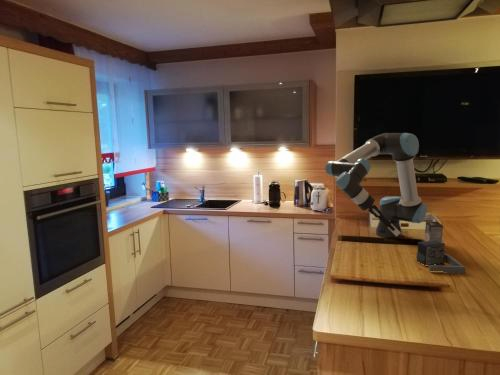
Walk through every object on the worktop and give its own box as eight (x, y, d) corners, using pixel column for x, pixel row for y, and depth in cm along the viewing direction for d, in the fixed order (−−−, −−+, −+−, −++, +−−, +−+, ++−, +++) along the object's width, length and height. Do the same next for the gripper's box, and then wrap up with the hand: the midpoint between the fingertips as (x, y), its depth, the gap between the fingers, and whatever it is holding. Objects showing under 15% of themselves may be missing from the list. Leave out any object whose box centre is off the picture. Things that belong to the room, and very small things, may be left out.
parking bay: (416, 258, 188) (416, 253, 187) (447, 259, 186) (448, 253, 186) (430, 272, 170) (430, 266, 169) (465, 273, 169) (465, 267, 168)
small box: (434, 260, 186) (436, 239, 184) (444, 264, 180) (445, 243, 178) (415, 262, 183) (417, 241, 182) (425, 266, 177) (426, 245, 176)
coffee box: (423, 250, 201) (425, 220, 198) (436, 251, 199) (438, 221, 197) (427, 256, 192) (430, 225, 189) (441, 256, 191) (443, 226, 188)
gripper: (354, 202, 183) (388, 235, 184) (359, 208, 170) (396, 243, 172) (366, 191, 182) (400, 225, 183) (372, 196, 169) (408, 232, 170)
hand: (398, 234), depth 177 cm, fingers closed
